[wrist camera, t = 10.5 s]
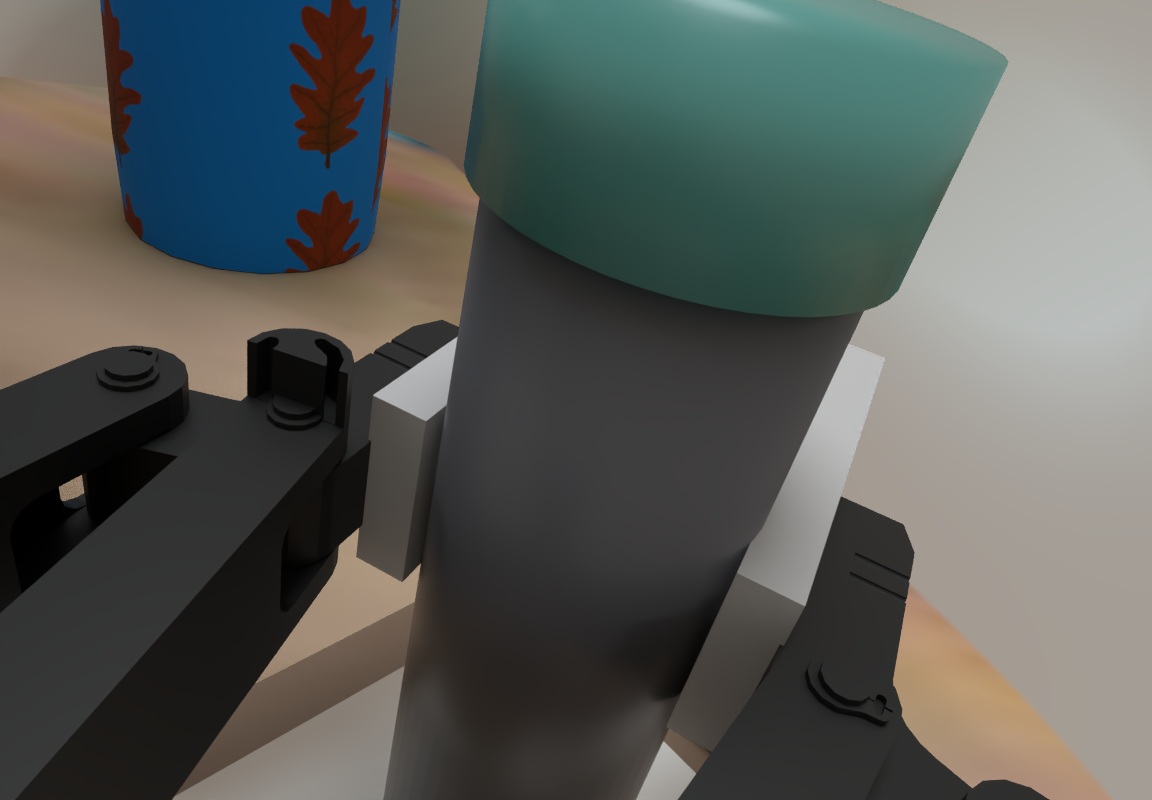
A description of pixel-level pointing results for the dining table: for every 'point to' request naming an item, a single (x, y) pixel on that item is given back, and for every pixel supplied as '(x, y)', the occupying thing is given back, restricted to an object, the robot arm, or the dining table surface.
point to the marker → (649, 351)
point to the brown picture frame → (349, 729)
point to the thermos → (251, 126)
